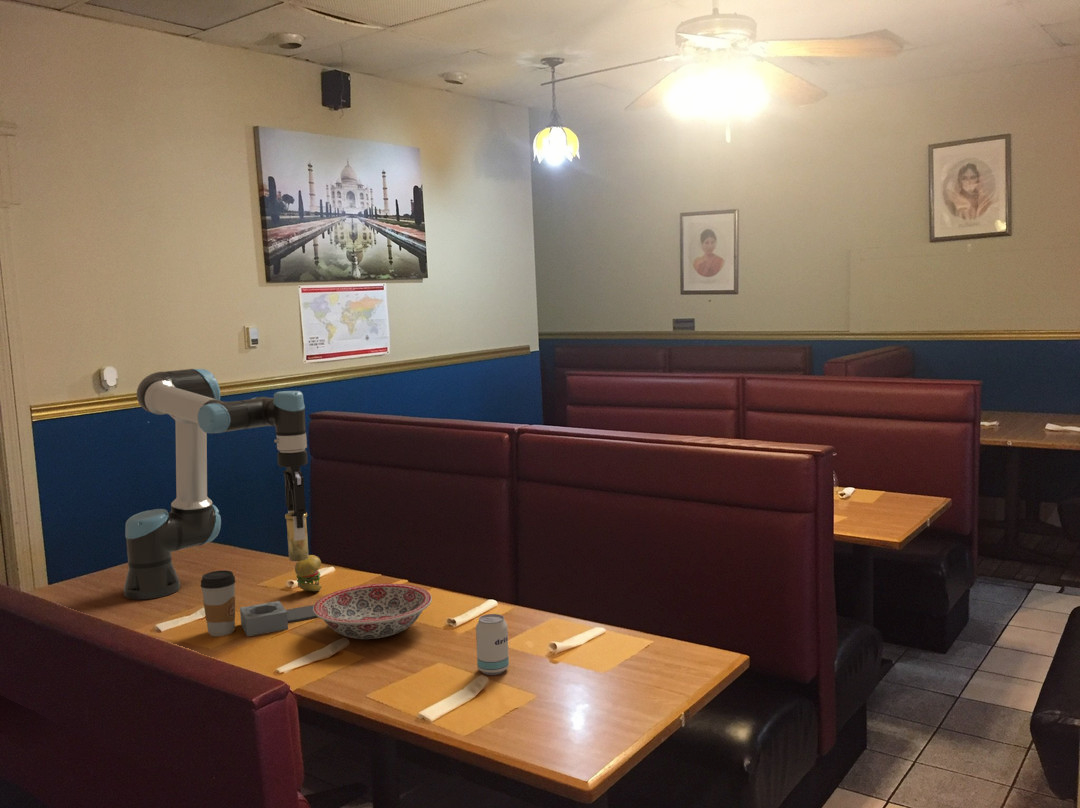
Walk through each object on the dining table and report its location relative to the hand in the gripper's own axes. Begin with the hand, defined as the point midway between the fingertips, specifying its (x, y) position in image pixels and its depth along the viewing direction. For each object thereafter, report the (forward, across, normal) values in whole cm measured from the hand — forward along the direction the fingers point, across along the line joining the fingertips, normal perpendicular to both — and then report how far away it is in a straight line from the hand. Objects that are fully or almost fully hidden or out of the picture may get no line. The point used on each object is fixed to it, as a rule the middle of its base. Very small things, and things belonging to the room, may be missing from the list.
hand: (297, 536), depth 234 cm
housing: (+21, +4, -10) cm, 24 cm away
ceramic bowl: (+22, +23, +13) cm, 34 cm away
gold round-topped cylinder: (+6, 0, 0) cm, 6 cm away
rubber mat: (+21, 0, 0) cm, 21 cm away
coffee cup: (+21, +2, -21) cm, 30 cm away
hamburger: (+21, -18, +6) cm, 29 cm away
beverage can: (+22, +60, +29) cm, 70 cm away
